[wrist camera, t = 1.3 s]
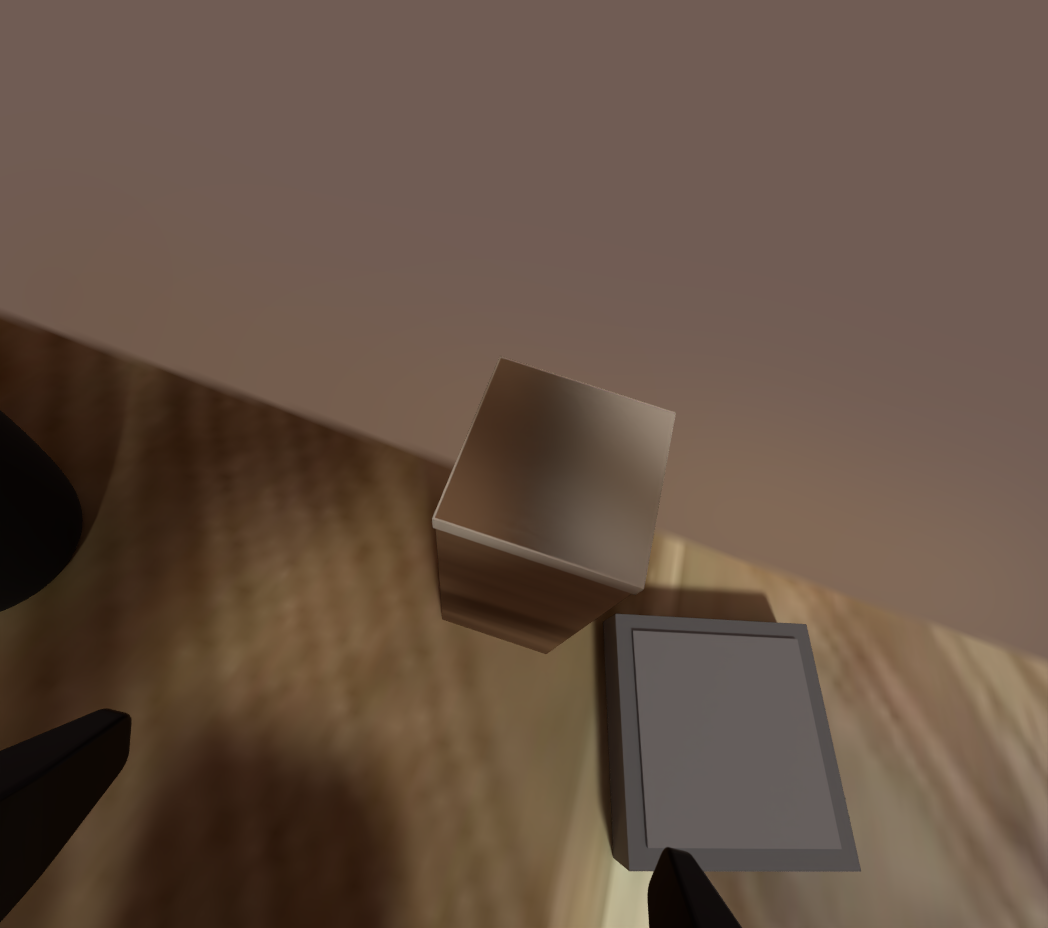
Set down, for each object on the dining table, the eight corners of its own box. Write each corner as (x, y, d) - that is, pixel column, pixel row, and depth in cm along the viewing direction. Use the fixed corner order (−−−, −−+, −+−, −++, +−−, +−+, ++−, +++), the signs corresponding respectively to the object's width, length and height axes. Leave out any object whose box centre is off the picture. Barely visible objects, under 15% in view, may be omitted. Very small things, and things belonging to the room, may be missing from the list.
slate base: (825, 858, 21) (863, 872, 19) (613, 857, 20) (630, 872, 18) (780, 631, 25) (808, 623, 23) (603, 621, 24) (616, 612, 22)
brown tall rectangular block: (547, 655, 23) (643, 589, 11) (440, 620, 23) (432, 518, 12) (573, 552, 25) (675, 412, 14) (477, 521, 25) (499, 355, 14)
